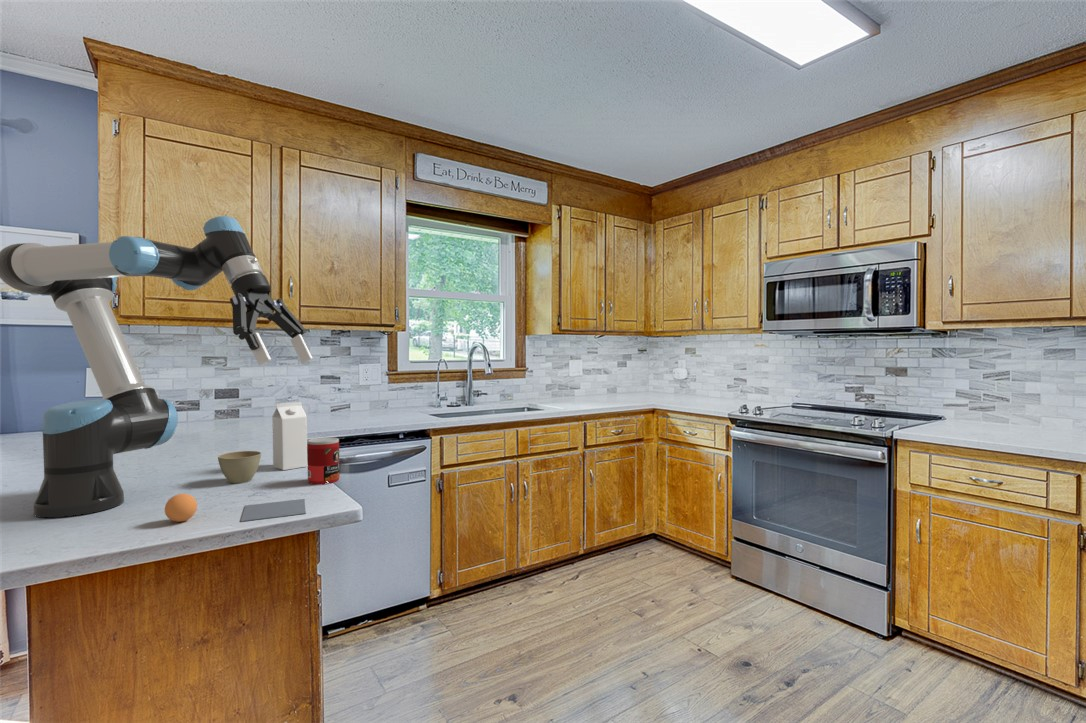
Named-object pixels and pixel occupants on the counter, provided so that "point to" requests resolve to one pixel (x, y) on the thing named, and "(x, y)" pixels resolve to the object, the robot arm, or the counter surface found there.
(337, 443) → the canned food
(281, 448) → the milk carton
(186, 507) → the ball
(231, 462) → the olive green bowl
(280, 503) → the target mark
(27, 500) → the counter surface
